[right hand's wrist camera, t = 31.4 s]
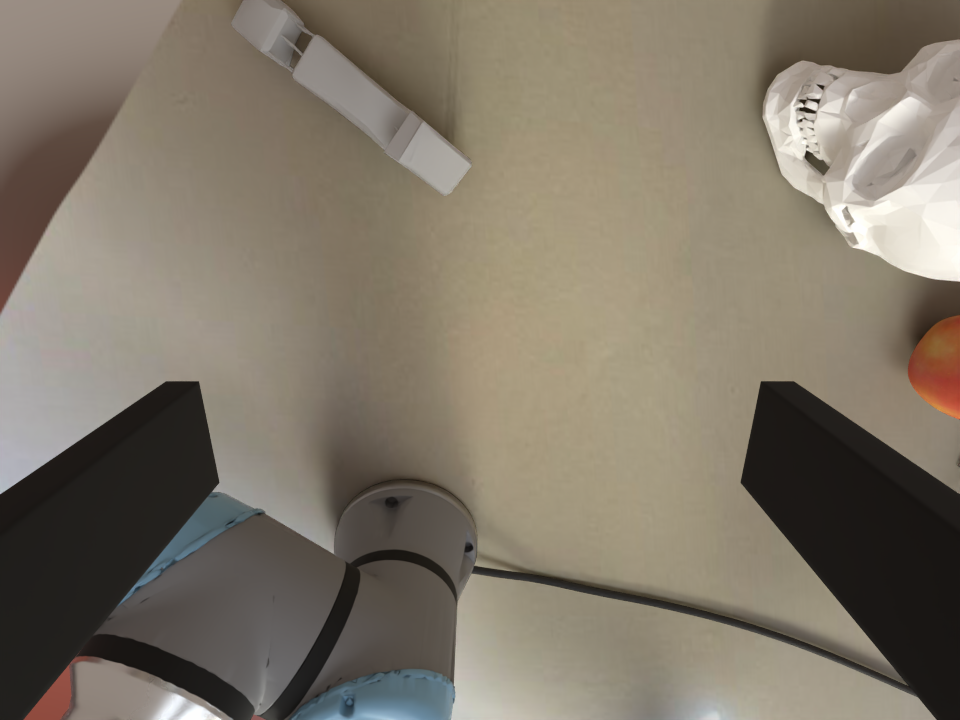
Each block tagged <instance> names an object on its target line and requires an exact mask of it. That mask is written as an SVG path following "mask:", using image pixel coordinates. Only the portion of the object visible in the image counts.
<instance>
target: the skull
mask: <svg viewBox="0 0 960 720" xmlns="http://www.w3.org/2000/svg"><path fill="white" fill-rule="evenodd" d="M817 84H819V85H823V86H825V87H824V90H822V89H821V88H819V87H818V86H817ZM809 86H810V87H809ZM805 93H806V94H805ZM807 97H808V99H821V100H820V103H819V104H817V103H816V102H813V101H810V100H807ZM800 99H805V100H807V101H806V103H805V105H803V104H802V103H801V102H800ZM804 106H805V107H807V108H810V109H812V110H815V111H816V113H815V114H811V113H806V112H803V111H799V107H804ZM802 118H806V119H808V120H805V119H803V122H800V119H802ZM763 120H764V123H765V125H766V128H767V131H768V133H769V136H770V139H771V142H772V146H773V149H774V152H775V155H776V158H777V161H778V164H779V168H780V171H781V174H782V175H783V176H784V177H785V178H786V179H787V180H788V182H789V183H790V184H791V185H792V186H793V187H794V188H796V189H797V190H799V191H801V192H803V193H805V194H807V195H809V196H811V197H813V198H814V199H815V200H816V201H817V202H819V203H821V204H824V206H825V210H826V211H827V213H828V215H829V216H830V218H831V219H832V220H833V222H834V223H835V227H836V228H837V229H838V230H839V231H840V232H841V234H842V235H843V236H844V237H845V239H846V241H847V243H848V244H849V246H850V247H853V248H857V249H862V250H865V251H867V252H870V253H872V254H875V255H878V256H880V257H881V258H883V259H884V260H886V261H887V262H888V263H890V264H892V265H894V266H896V267H898V268H899V269H901V270H903V271H906V272H909V273H913V274H916V275H920V276H923V277H927V278H931V279H937V280H948V281H960V39H959V40H952V41H945V42H938V43H933V44H930V45H927V46H924V47H923V48H921V49H920V51H919V52H918V53H917V55H916V56H915V57H914V58H913V59H912V60H911V61H910V62H909V64H908V65H907V66H906V67H905V68H904V69H903V70H902V71H901V72H899V73H894V74H889V75H888V74H881V73H875V72H861V71H852V70H848V69H844V68H836V67H834V66H831V65H823V66H820V65H818V64H816V63H814V62H809V61H800V62H797V63H796V64H794V65H792V66H791V67H789V68H787V69H786V70H784V71H783V72H781V73H779V74H778V75H777V76H776V78H775V79H774V81H773V82H772V84H771V85H770V86H769V88H768V90H767V93H766V96H765V99H764V102H763ZM810 120H814V121H810ZM812 128H814V130H813V129H812ZM806 150H807V151H809V152H811V153H813V155H814V156H815V157H817V158H818V159H819V160H824V161H825V163H826V165H827V166H829V167H830V168H829V169H828V171H827V172H826V174H825V175H823V174H822V173H820V172H819V171H818V170H817V169H816V168H815V167H813V166H812V165H811V164H810V163H809V162H808V161H807V160H806V159H805V157H804V156H805V152H806Z"/></svg>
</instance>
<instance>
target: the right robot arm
mask: <svg viewBox="0 0 960 720" xmlns="http://www.w3.org/2000/svg"><path fill="white" fill-rule="evenodd" d="M218 484H219V478H218V473H217V469H216V464H215V459H214V454H213V449H212V444H211V439H210V434H209V429H208V424H207V419H206V414H205V409H204V404H203V399H202V394H201V389H200V384H199V381H166V382H165V383H163V384H162V385H160V386H159V387H157V388H156V389H154V390H153V391H151V392H150V393H148V394H147V395H146V396H144V397H143V398H141V399H140V400H138V401H137V402H135V403H134V404H132V405H131V406H129V407H128V408H126V409H125V410H124V411H122V412H121V413H119V414H118V415H116V416H115V417H113V418H112V419H110V420H109V421H107V422H106V423H104V424H103V425H102V426H100V427H99V428H97V429H96V430H94V431H93V432H91V433H90V434H88V435H87V436H85V437H84V438H82V439H81V440H80V441H78V442H77V443H75V444H74V445H72V446H71V447H69V448H68V449H66V450H65V451H63V452H62V453H60V454H59V455H58V456H56V457H55V458H53V459H52V460H50V461H49V462H47V463H46V464H44V465H43V466H41V467H40V468H38V469H37V470H36V471H34V472H33V473H31V474H30V475H28V476H27V477H25V478H24V479H22V480H21V481H19V482H18V483H16V484H15V485H14V486H12V487H11V488H9V489H8V490H6V491H5V492H3V493H2V494H0V720H23V719H24V718H25V717H26V716H27V715H28V713H29V712H30V711H31V710H32V708H33V707H34V706H35V705H36V704H37V702H38V701H39V700H40V699H41V698H42V696H43V695H44V694H45V693H46V692H47V690H48V689H49V688H50V687H51V686H52V684H53V683H54V682H55V681H56V680H57V678H58V677H59V676H60V675H61V673H62V672H63V671H64V670H65V669H66V667H67V666H68V665H69V664H70V663H71V664H70V681H71V695H72V696H71V700H70V705H69V709H68V710H67V711H66V712H65V714H64V715H63V716H62V718H61V719H60V720H251V718H252V716H253V714H255V715H257V716H260V717H262V718H264V719H266V720H451V714H452V707H453V703H454V700H455V689H454V688H455V687H454V667H455V645H456V622H457V601H458V599H459V597H460V595H461V593H462V591H463V589H464V587H465V585H466V583H467V581H468V579H469V577H470V575H471V573H473V574H479V575H486V576H492V577H499V578H507V579H515V580H523V581H530V582H535V583H541V584H546V585H551V586H556V587H561V588H565V589H570V590H574V591H579V592H583V593H588V594H593V595H598V596H603V597H608V598H613V599H618V600H624V601H629V602H634V603H639V604H644V605H649V606H654V607H659V608H663V609H668V610H672V611H677V612H681V613H685V614H689V615H694V616H698V617H702V618H705V619H709V620H713V621H717V622H720V623H724V624H728V625H731V626H735V627H738V628H742V629H745V630H748V631H752V632H755V633H758V634H761V635H764V636H767V637H770V638H773V639H776V640H779V641H782V642H785V643H788V644H791V645H793V646H796V647H799V648H802V649H804V650H807V651H810V652H812V653H815V654H817V655H820V656H823V657H825V658H828V659H830V660H833V661H835V662H838V663H840V664H842V665H845V666H847V667H850V668H852V669H854V670H857V671H859V672H861V673H864V674H866V675H868V676H871V677H873V678H875V679H878V680H880V681H882V682H885V683H887V684H889V685H891V686H894V687H896V688H898V689H900V690H903V691H905V692H907V693H909V694H912V695H914V696H916V697H918V698H919V699H920V700H921V701H922V703H923V704H924V705H925V706H926V707H927V709H928V710H929V711H930V712H931V713H932V715H933V716H934V717H935V718H936V719H937V720H960V494H958V493H957V492H955V491H954V490H952V489H951V488H949V487H948V486H946V485H945V484H944V483H942V482H941V481H939V480H938V479H936V478H935V477H933V476H932V475H930V474H929V473H927V472H926V471H924V470H923V469H922V468H920V467H919V466H917V465H916V464H914V463H913V462H911V461H910V460H908V459H907V458H905V457H904V456H902V455H901V454H900V453H898V452H897V451H895V450H894V449H892V448H891V447H889V446H888V445H886V444H885V443H883V442H882V441H880V440H879V439H878V438H876V437H875V436H873V435H872V434H870V433H869V432H867V431H866V430H864V429H863V428H861V427H860V426H858V425H857V424H856V423H854V422H853V421H851V420H850V419H848V418H847V417H845V416H844V415H842V414H841V413H839V412H838V411H836V410H835V409H834V408H832V407H831V406H829V405H828V404H826V403H825V402H823V401H822V400H820V399H819V398H817V397H816V396H814V395H813V394H812V393H810V392H809V391H807V390H806V389H804V388H803V387H801V386H800V385H798V384H797V383H795V382H794V381H761V384H760V389H759V394H758V399H757V404H756V409H755V414H754V419H753V424H752V429H751V434H750V439H749V444H748V449H747V454H746V459H745V464H744V469H743V473H742V478H741V484H742V485H743V486H744V487H745V488H746V490H747V491H748V492H749V493H750V495H751V496H752V497H753V498H754V499H755V501H756V502H757V503H758V504H759V505H760V507H761V508H762V509H763V510H764V511H765V513H766V514H767V515H768V516H769V518H770V519H771V520H772V521H773V522H774V524H775V525H776V526H777V527H778V528H779V530H780V531H781V532H782V533H783V534H784V536H785V537H786V538H787V539H788V540H789V542H790V543H791V544H792V545H793V547H794V548H795V549H796V550H797V551H798V553H799V554H800V555H801V556H802V557H803V559H804V560H805V561H806V562H807V563H808V565H809V566H810V567H811V568H812V570H813V571H814V572H815V573H816V574H817V576H818V577H819V578H820V579H821V580H822V582H823V583H824V584H825V585H826V586H827V588H828V589H829V590H830V591H831V592H832V594H833V595H834V596H835V597H836V599H837V600H838V601H839V602H840V603H841V605H842V606H843V607H844V608H845V609H846V611H847V612H848V613H849V614H850V615H851V617H852V618H853V619H854V620H855V622H856V623H857V624H858V625H859V626H860V628H861V629H862V630H863V631H864V632H865V634H866V635H867V636H868V637H869V638H870V640H871V641H872V642H873V643H874V644H875V646H876V647H877V648H878V649H879V651H880V652H881V653H882V654H883V655H884V657H885V658H886V659H887V660H888V661H889V663H890V664H891V665H892V666H893V667H894V669H895V670H896V671H897V672H898V673H899V675H900V676H901V677H902V678H903V680H904V681H905V682H906V683H907V684H908V686H907V685H905V684H903V683H900V682H898V681H896V680H894V679H891V678H889V677H887V676H885V675H882V674H880V673H878V672H875V671H873V670H871V669H869V668H866V667H864V666H862V665H859V664H857V663H855V662H852V661H850V660H848V659H845V658H843V657H840V656H838V655H836V654H833V653H831V652H828V651H826V650H823V649H820V648H818V647H815V646H813V645H810V644H808V643H805V642H802V641H800V640H797V639H794V638H791V637H789V636H786V635H783V634H780V633H777V632H774V631H771V630H768V629H765V628H762V627H759V626H756V625H753V624H749V623H746V622H743V621H739V620H736V619H732V618H729V617H725V616H722V615H718V614H714V613H711V612H707V611H703V610H699V609H695V608H691V607H687V606H682V605H678V604H674V603H669V602H665V601H660V600H656V599H651V598H646V597H641V596H636V595H631V594H626V593H620V592H615V591H610V590H605V589H600V588H595V587H590V586H585V585H581V584H576V583H572V582H567V581H563V580H558V579H554V578H549V577H544V576H538V575H533V574H526V573H519V572H511V571H504V570H497V569H490V568H484V567H478V566H474V564H475V561H476V557H477V531H476V527H475V524H474V521H473V519H472V517H471V515H470V513H469V512H468V510H467V509H466V507H465V506H464V505H463V504H462V503H461V502H460V501H459V500H458V499H457V498H456V497H455V496H453V495H452V494H450V493H449V492H447V491H446V490H444V489H442V488H440V487H438V486H435V485H432V484H429V483H426V482H422V481H416V480H393V481H387V482H383V483H379V484H377V485H374V486H372V487H370V488H368V489H366V490H364V491H363V492H361V493H360V494H358V495H357V496H356V497H355V498H354V499H353V500H352V501H351V502H350V503H349V504H348V506H347V507H346V509H345V510H344V512H343V514H342V516H341V519H340V521H339V524H338V526H337V529H336V533H335V540H334V554H335V555H334V554H332V553H331V552H329V551H327V550H326V549H324V548H322V547H320V546H319V545H317V544H315V543H314V542H312V541H310V540H309V539H307V538H305V537H304V536H302V535H300V534H298V533H297V532H295V531H293V530H292V529H290V528H288V527H287V526H285V525H283V524H281V523H280V522H278V521H276V520H275V519H273V518H271V517H270V516H268V515H266V514H265V511H264V510H262V509H254V508H252V507H250V506H248V505H246V504H244V503H242V502H240V501H238V500H236V499H234V498H232V497H231V496H229V495H226V494H224V493H220V492H212V491H213V490H214V488H215V487H216V486H217V485H218ZM81 649H82V650H81ZM77 654H78V655H77ZM76 655H77V656H76ZM73 659H74V660H73ZM72 660H73V661H72ZM71 661H72V662H71Z"/></svg>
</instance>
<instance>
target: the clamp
mask: <svg viewBox="0 0 960 720" xmlns="http://www.w3.org/2000/svg"><path fill="white" fill-rule="evenodd" d="M231 25H232V26H233V28H234V29H235V30H236V31H237V32H239V33H240V34H241V35H242V36H243V37H244V38H245V39H246V40H248V41H249V42H250V43H251V44H252V45H253V46H254V47H255V48H257V49H258V50H259V51H260V52H262V53H264V54H265V55H266V56H268V57H269V58H271V59H272V60H274V61H275V62H277V63H278V64H279V65H281V66H283V67H285V68H287V69H288V70H289V71H290V72H292V77H293V78H294V80H295V81H296V82H297V83H299V84H300V85H302V86H303V87H304V88H306V89H307V90H309V91H310V92H311V93H313V94H314V95H316V96H317V97H318V98H320V99H321V100H323V101H324V102H326V103H327V104H328V105H330V106H331V107H333V108H334V109H335V110H337V111H338V112H339V113H340V114H342V115H343V116H344V117H345V118H347V119H348V120H349V121H351V122H352V123H353V124H354V125H356V126H357V127H358V128H359V129H361V130H362V131H363V132H365V133H366V134H367V135H368V136H369V137H370V138H371V139H372V140H374V141H375V142H376V143H377V144H378V145H379V146H380V147H381V148H383V149H384V150H385V151H384V153H385V154H386V155H388V156H389V157H391V158H392V159H394V160H395V161H397V162H398V163H400V164H401V165H403V166H404V167H406V168H407V169H408V170H410V171H411V172H412V173H414V174H415V175H416V176H418V177H419V178H420V179H422V180H423V181H424V182H426V183H427V184H428V185H430V186H431V187H432V188H434V189H435V190H436V191H438V192H439V193H440V194H442V195H443V196H444V195H448V194H450V193H451V192H452V191H453V190H454V188H455V187H456V186H457V185H458V183H459V182H460V181H461V179H462V178H463V177H464V176H465V174H466V173H467V172H468V170H469V169H470V168H471V167H472V162H471V160H470V158H469V157H467V156H466V155H465V154H463V153H462V152H461V151H459V150H458V149H457V148H455V147H454V146H453V145H452V144H451V143H449V142H448V141H447V140H446V139H445V138H444V137H442V136H441V135H440V134H439V133H438V132H436V131H435V130H434V129H433V128H432V127H431V126H429V125H428V124H427V123H426V122H425V121H424V120H423V119H421V118H420V117H419V116H418V115H417V114H416V113H414V112H413V111H411V110H409V109H408V108H407V107H405V106H404V105H403V104H401V103H400V102H398V101H397V100H396V99H395V98H394V97H392V96H391V95H390V94H389V93H388V92H387V91H385V90H384V89H383V88H382V87H381V86H379V85H378V84H377V83H376V82H375V81H374V80H372V79H371V78H370V77H369V76H368V75H366V74H365V73H364V72H363V71H362V70H361V69H359V68H358V67H357V66H356V65H355V64H353V63H352V62H351V61H350V60H349V59H348V58H346V57H345V56H344V55H343V54H342V53H341V52H339V51H338V50H337V49H336V48H335V47H333V46H332V45H331V44H330V43H329V42H328V41H327V40H325V39H324V38H323V37H322V36H320V35H318V34H316V35H314V34H312V33H311V32H310V31H309V30H307V29H306V28H305V27H304V23H303V21H302V20H301V19H300V18H299V17H298V16H297V14H296V13H295V12H294V11H293V10H292V9H291V8H290V7H289V6H287V5H286V4H285V3H284V2H283V1H281V0H243V2H242V3H241V5H240V7H239V9H238V11H237V13H236V15H235V17H234V18H233V20H232V24H231ZM302 31H303V32H304V33H306V34H308V35H310V36H312V39H311V41H310V42H309V44H308V46H307V48H306V49H305V51H304V53H302V52H301V51H300V50H299V49H298V48H297V47H296V46H295V44H296V42H297V40H298V38H299V36H300V34H301V32H302ZM294 49H295V50H296V51H297V52H298V53H299V54H300V55H301V58H300V60H299V61H298V63H297V65H296V66H295V68H294V69H293V68H292V67H291V66H290V63H291V59H292V55H293V51H294Z"/></svg>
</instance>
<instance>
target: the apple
mask: <svg viewBox="0 0 960 720" xmlns="http://www.w3.org/2000/svg"><path fill="white" fill-rule="evenodd" d="M908 376H909V380H910V382H911V384H912V386H913V388H914V389H915V390H916V392H917V393H918V394H919V395H920V396H921V397H922V398H923V399H924V400H925V401H926V402H928V403H929V404H930V405H932V406H933V407H935V408H936V409H938V410H940V411H941V412H943V413H945V414H947V415H950V416H952V417H955V418H957V419H960V315H957V316H952V317H948V318H946V319H943V320H941V321H939V322H938V323H936V324H935V325H934V326H933V327H931V328H930V330H929V331H928V332H927V333H926V334H925V335H924V336H923V338H922V339H921V340H920V342H919V343H918V344H917V346H916V348H915V349H914V351H913V353H912V355H911V358H910V361H909V365H908Z"/></svg>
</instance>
